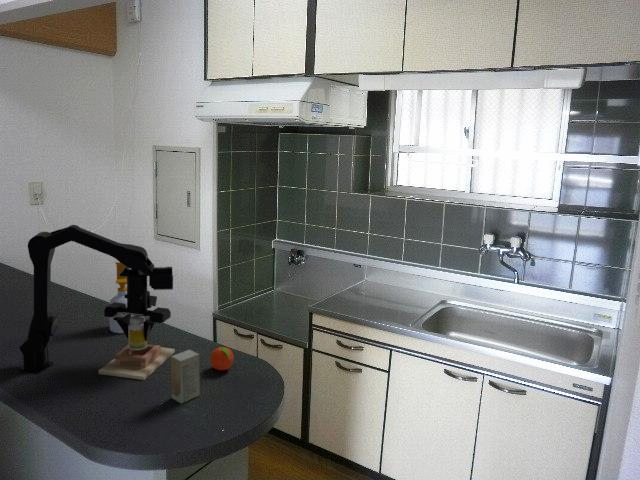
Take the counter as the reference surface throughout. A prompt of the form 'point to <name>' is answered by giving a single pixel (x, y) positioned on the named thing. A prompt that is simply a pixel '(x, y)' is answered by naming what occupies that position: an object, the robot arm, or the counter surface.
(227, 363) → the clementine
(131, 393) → the counter surface
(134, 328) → the supplement bottle
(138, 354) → the maple holder board
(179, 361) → the skincare box
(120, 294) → the soap bottle
